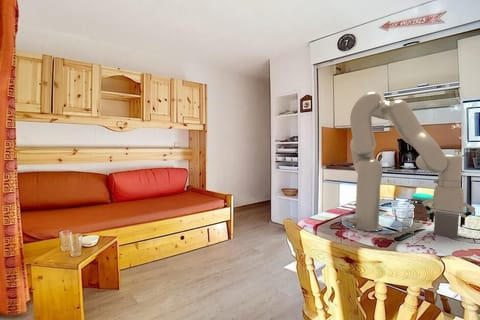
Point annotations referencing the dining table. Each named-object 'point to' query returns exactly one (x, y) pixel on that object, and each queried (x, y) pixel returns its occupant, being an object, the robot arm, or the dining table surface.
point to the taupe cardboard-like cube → (446, 224)
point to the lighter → (419, 209)
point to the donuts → (422, 197)
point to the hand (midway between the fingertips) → (446, 224)
